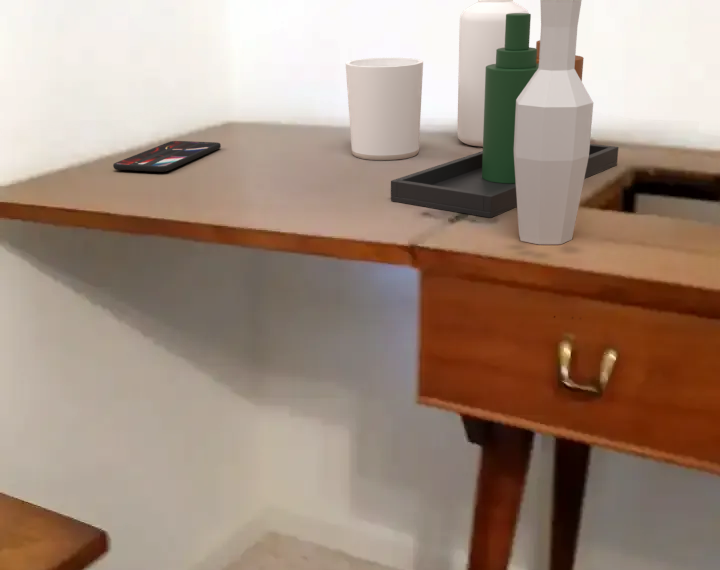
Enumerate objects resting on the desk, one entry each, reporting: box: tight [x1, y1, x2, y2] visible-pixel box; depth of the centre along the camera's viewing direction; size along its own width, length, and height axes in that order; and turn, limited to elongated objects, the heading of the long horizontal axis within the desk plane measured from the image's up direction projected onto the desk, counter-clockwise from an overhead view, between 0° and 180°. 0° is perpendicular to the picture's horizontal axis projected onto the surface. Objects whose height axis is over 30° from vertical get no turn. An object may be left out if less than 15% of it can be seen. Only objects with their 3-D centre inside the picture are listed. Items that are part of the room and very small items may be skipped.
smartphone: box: [112, 140, 222, 173], centre depth 117 cm, size 7×1×15 cm
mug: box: [345, 57, 424, 161], centre depth 115 cm, size 11×9×10 cm
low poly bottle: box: [514, 0, 594, 245], centre depth 79 cm, size 6×6×22 cm
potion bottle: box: [456, 0, 529, 148], centre depth 117 cm, size 8×8×18 cm
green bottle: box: [482, 12, 539, 184], centre depth 99 cm, size 6×6×16 cm
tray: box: [390, 143, 620, 219], centre depth 102 cm, size 12×27×2 cm, turn 141°
